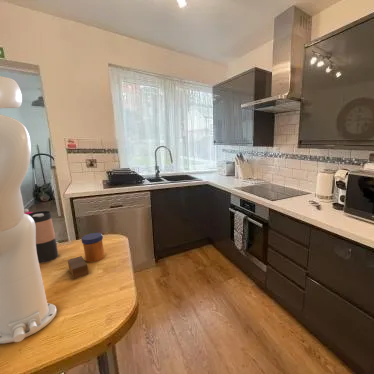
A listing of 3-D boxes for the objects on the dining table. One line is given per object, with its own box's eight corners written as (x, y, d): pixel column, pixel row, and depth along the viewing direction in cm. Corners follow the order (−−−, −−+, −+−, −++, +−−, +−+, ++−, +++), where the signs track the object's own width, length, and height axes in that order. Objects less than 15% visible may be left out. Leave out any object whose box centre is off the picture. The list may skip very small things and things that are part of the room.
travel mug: (41, 255, 94) (32, 211, 90) (62, 252, 96) (54, 210, 92) (29, 264, 87) (19, 217, 82) (53, 261, 89) (43, 216, 85)
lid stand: (88, 274, 82) (87, 264, 81) (74, 279, 78) (72, 269, 78) (83, 264, 87) (81, 255, 87) (69, 269, 84) (67, 260, 83)
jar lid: (104, 240, 91) (104, 236, 91) (84, 246, 86) (83, 241, 86) (100, 235, 96) (99, 231, 95) (80, 240, 91) (79, 236, 90)
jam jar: (106, 257, 93) (103, 237, 91) (88, 264, 88) (84, 242, 86) (102, 252, 97) (99, 232, 95) (84, 258, 92) (80, 237, 90)
